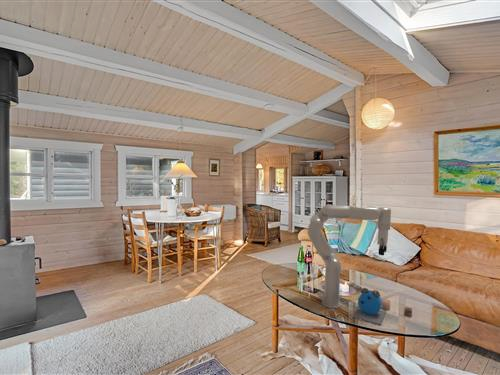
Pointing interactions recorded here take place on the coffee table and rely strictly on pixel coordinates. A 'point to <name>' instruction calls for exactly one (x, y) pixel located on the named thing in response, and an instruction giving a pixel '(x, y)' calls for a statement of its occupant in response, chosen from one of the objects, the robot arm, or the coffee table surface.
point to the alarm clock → (370, 301)
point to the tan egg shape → (385, 304)
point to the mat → (370, 316)
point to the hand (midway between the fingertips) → (382, 253)
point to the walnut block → (408, 311)
